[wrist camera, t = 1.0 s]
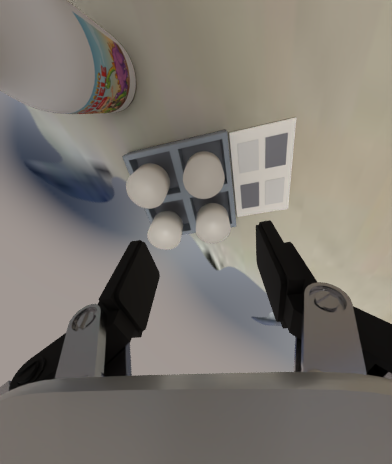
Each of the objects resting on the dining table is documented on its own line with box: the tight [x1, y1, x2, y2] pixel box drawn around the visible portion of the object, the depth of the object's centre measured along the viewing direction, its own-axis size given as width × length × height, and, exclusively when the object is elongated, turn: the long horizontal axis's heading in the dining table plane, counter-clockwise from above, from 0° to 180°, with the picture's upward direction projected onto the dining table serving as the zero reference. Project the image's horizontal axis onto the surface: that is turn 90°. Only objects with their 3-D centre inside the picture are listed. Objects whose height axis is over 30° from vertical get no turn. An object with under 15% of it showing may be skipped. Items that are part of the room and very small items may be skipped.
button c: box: [147, 211, 183, 250], centre depth 28 cm, size 5×5×5 cm
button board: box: [122, 130, 236, 235], centre depth 29 cm, size 15×15×3 cm
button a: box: [126, 163, 170, 209], centre depth 24 cm, size 5×5×5 cm
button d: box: [196, 203, 231, 243], centre depth 27 cm, size 5×5×5 cm
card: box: [229, 117, 296, 217], centre depth 29 cm, size 14×9×1 cm, turn 12°
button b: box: [183, 151, 225, 199], centre depth 23 cm, size 5×5×5 cm
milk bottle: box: [0, 0, 136, 114], centre depth 14 cm, size 8×8×20 cm
